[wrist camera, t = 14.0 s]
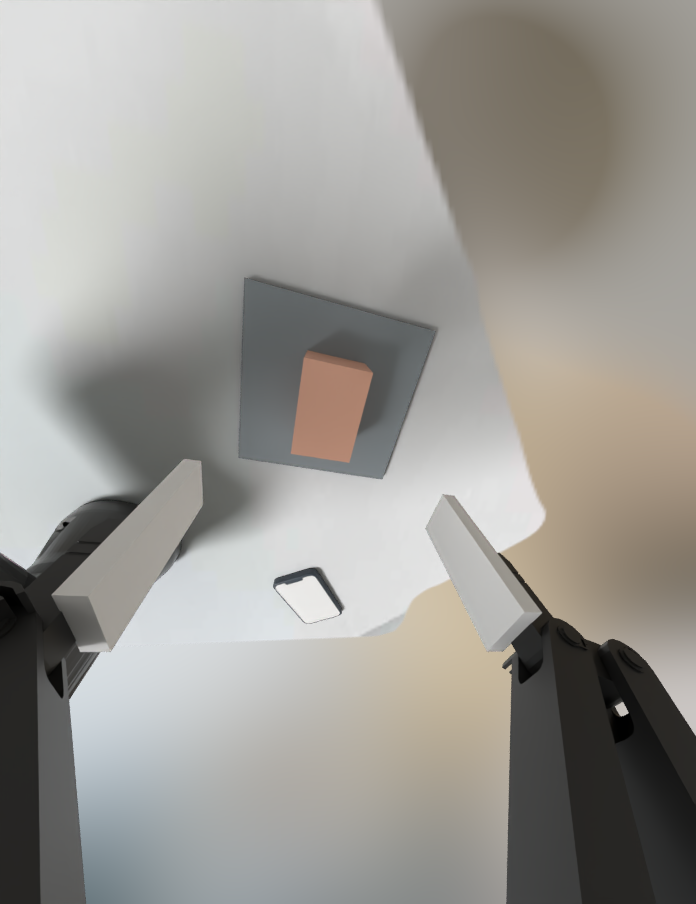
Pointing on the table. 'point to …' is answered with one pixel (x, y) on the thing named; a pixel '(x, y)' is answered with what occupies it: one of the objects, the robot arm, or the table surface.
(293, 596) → the smartphone
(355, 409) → the card box
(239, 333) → the table surface
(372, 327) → the mat
